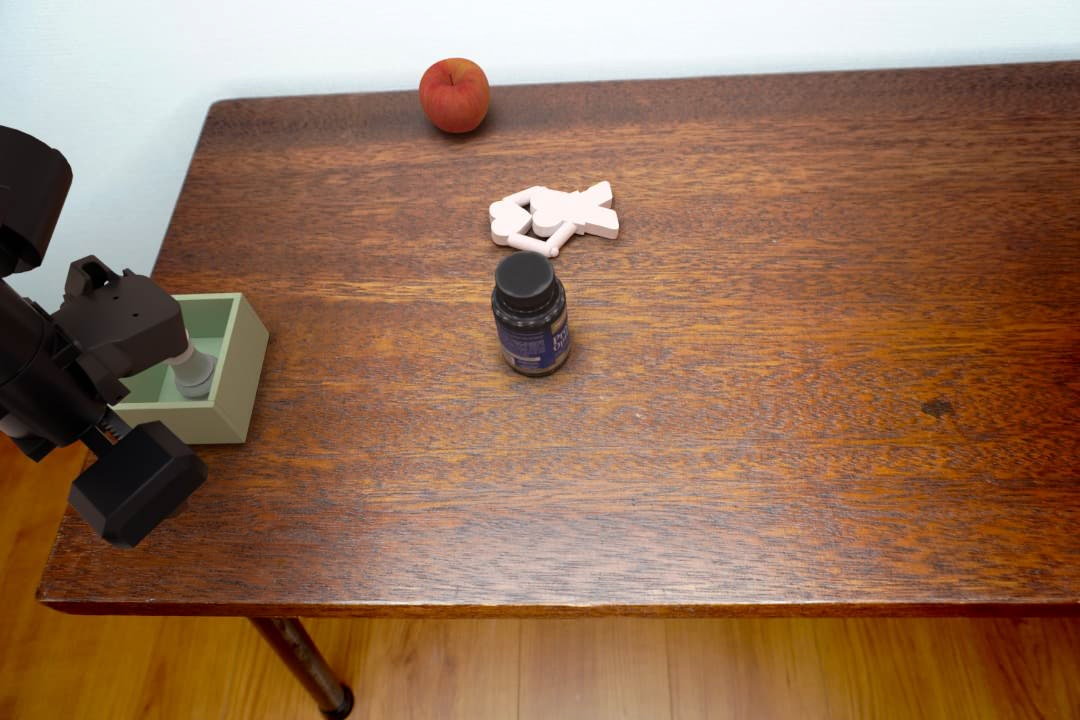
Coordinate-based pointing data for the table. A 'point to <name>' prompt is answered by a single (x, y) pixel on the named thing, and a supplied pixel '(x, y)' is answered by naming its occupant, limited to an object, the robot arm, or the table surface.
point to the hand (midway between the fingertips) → (140, 470)
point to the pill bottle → (530, 314)
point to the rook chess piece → (193, 372)
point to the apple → (455, 94)
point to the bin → (240, 351)
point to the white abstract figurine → (552, 217)
